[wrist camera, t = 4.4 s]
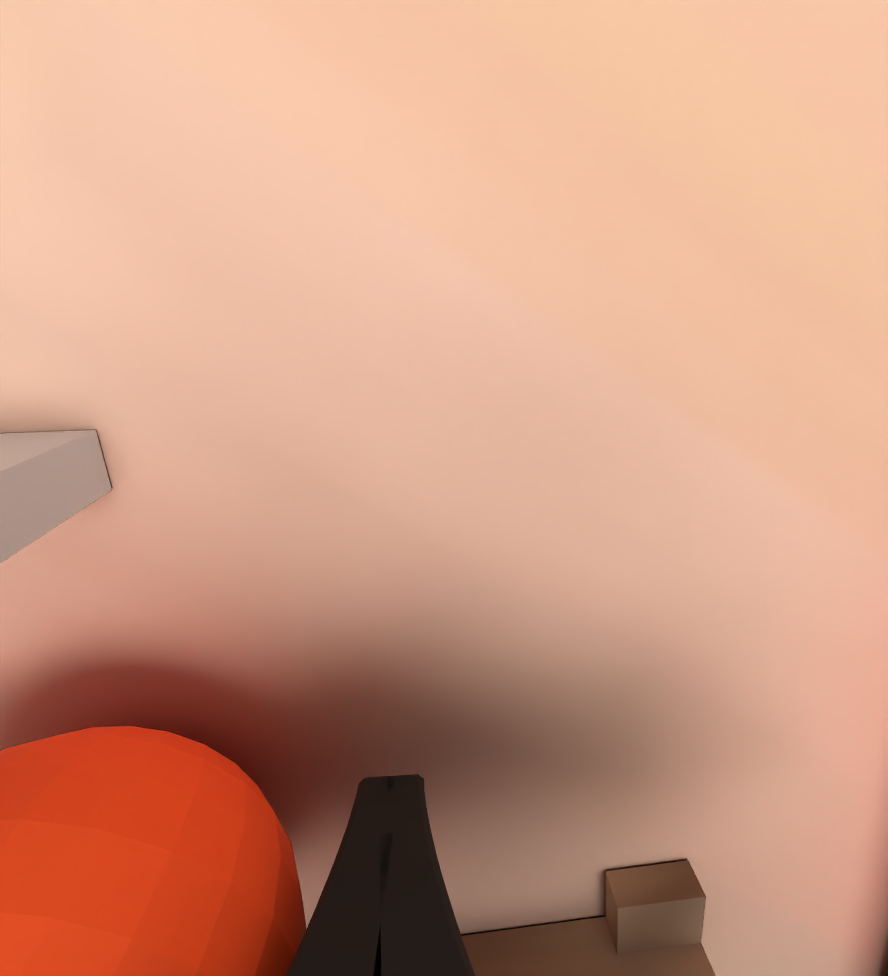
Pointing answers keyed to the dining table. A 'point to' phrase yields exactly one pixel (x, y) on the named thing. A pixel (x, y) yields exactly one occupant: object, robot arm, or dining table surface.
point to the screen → (610, 933)
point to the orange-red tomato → (141, 861)
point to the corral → (46, 482)
